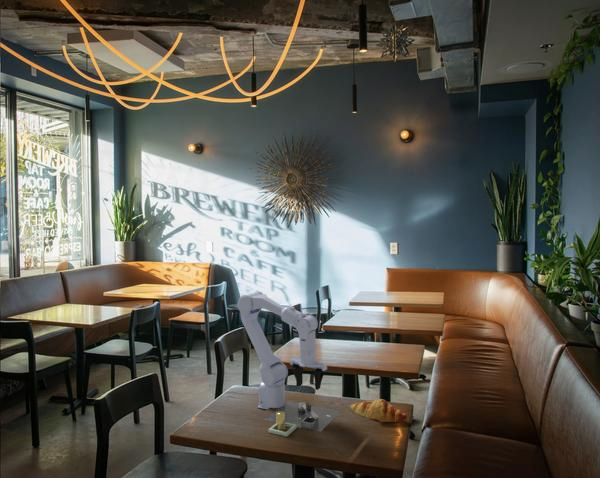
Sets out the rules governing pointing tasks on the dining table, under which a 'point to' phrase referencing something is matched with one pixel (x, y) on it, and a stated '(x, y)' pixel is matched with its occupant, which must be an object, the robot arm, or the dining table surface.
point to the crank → (307, 409)
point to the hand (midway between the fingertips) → (308, 386)
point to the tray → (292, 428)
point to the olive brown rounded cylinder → (280, 420)
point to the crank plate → (305, 416)
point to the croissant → (378, 411)
